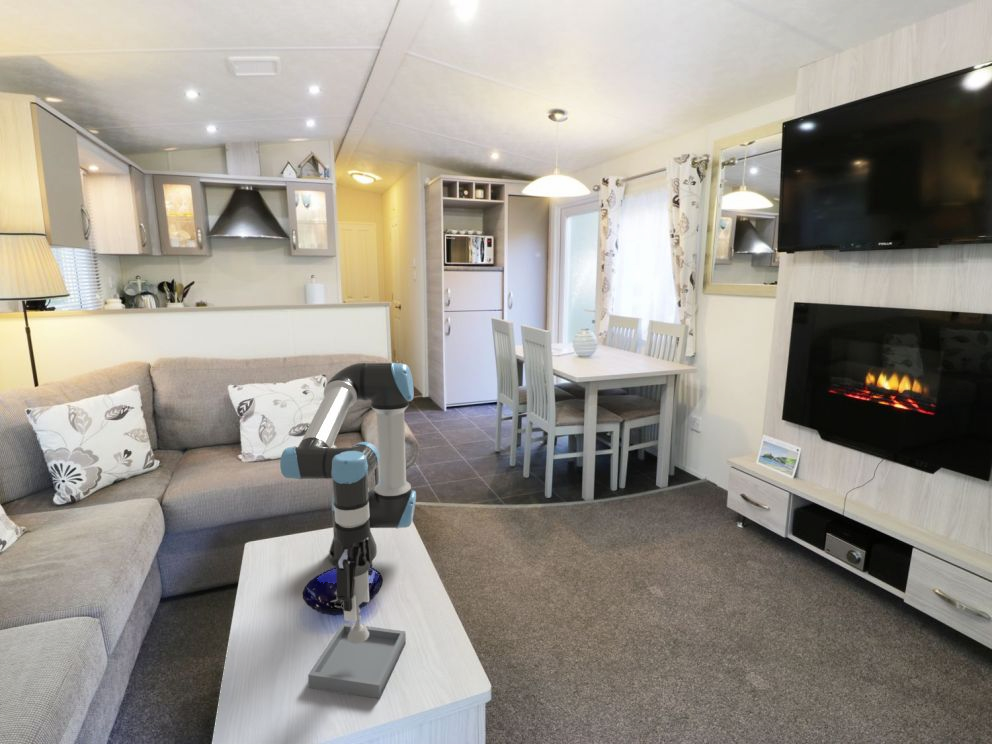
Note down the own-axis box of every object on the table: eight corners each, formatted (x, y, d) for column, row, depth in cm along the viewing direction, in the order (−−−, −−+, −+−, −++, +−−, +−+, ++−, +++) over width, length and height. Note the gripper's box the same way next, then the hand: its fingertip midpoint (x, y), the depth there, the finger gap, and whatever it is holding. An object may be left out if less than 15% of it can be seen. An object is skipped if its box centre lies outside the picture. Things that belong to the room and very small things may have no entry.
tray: (343, 634, 131) (342, 623, 130) (405, 643, 128) (405, 631, 127) (309, 687, 114) (308, 674, 114) (380, 698, 112) (379, 685, 111)
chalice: (364, 649, 115) (361, 579, 111) (337, 644, 117) (333, 575, 113) (378, 627, 122) (375, 560, 119) (352, 623, 124) (348, 557, 120)
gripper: (355, 499, 123) (359, 583, 128) (315, 541, 105) (322, 637, 109) (384, 502, 122) (387, 586, 127) (349, 544, 103) (354, 641, 108)
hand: (357, 610), depth 118 cm, fingers closed on chalice, 6 cm apart
